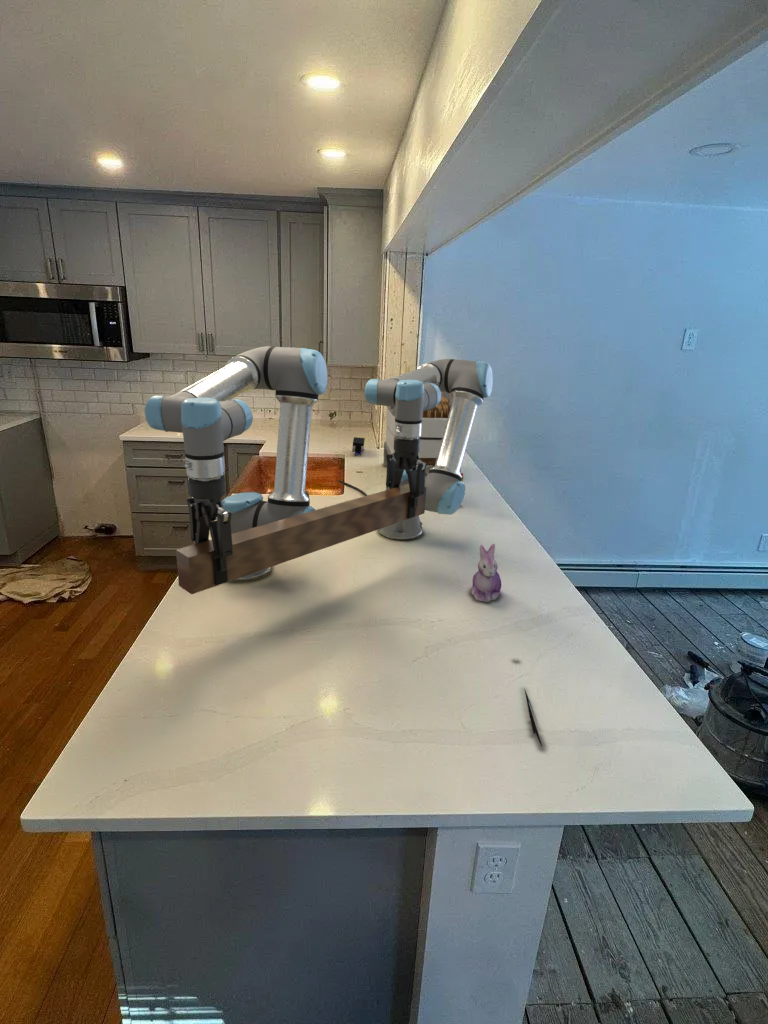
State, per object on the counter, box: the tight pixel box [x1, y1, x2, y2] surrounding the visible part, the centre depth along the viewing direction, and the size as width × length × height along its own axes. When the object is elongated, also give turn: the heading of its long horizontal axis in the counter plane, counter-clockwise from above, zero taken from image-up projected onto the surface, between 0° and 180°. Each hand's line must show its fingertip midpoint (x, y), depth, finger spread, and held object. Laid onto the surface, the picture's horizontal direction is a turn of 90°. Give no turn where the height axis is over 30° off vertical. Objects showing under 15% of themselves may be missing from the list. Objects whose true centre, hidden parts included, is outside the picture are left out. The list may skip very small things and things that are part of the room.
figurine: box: [471, 543, 502, 603], centre depth 157 cm, size 9×10×15 cm
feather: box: [515, 659, 545, 747], centre depth 116 cm, size 2×28×2 cm
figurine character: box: [351, 436, 365, 456], centre depth 305 cm, size 7×8×15 cm
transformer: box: [383, 392, 462, 473], centre depth 268 cm, size 34×33×41 cm
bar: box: [175, 484, 426, 595], centre depth 144 cm, size 76×5×8 cm, turn 137°
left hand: (213, 578), depth 123 cm, fingers closed on bar, 5 cm apart
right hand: (403, 514), depth 167 cm, fingers closed on bar, 5 cm apart
